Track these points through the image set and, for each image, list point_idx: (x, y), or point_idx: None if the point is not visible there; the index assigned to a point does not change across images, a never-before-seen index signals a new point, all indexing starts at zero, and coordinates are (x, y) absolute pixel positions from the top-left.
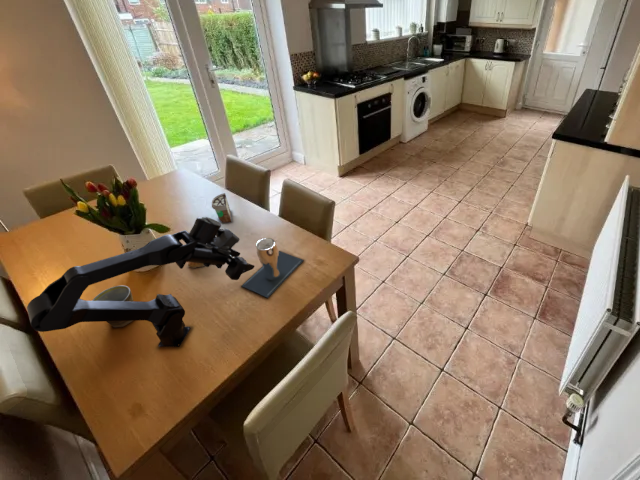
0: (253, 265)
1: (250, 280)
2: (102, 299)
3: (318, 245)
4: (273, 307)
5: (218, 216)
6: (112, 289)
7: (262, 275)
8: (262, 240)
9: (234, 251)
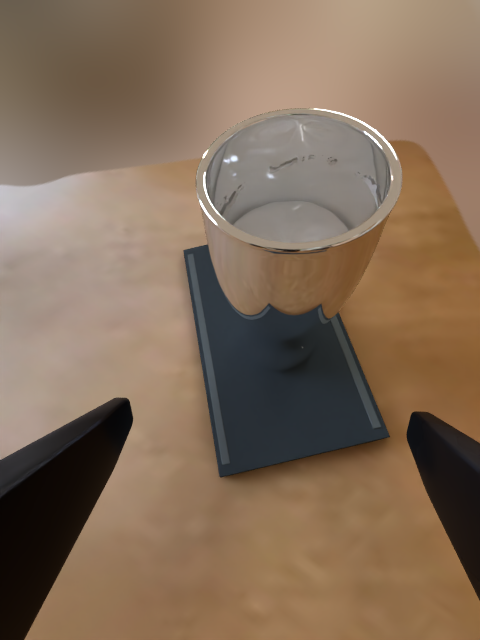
0: (443, 423)
1: (226, 424)
2: None
3: None
4: None
5: None
6: None
7: (245, 368)
8: (208, 174)
9: (71, 454)
